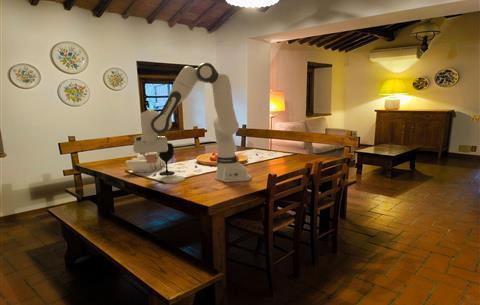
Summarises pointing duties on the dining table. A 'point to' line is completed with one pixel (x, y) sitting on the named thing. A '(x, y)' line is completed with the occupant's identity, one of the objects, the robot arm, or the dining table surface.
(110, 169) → the dining table surface
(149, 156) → the orange cube
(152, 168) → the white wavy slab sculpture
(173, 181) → the tile
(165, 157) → the wine glass
